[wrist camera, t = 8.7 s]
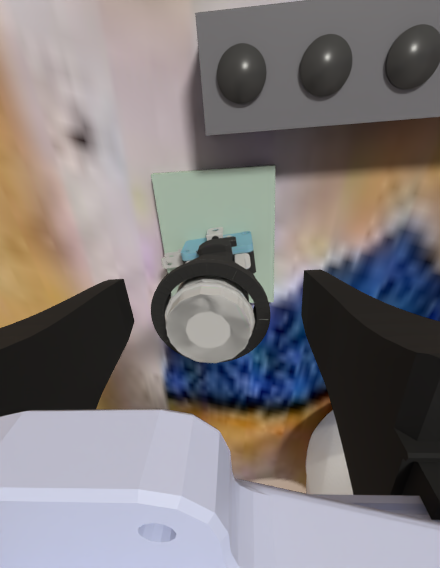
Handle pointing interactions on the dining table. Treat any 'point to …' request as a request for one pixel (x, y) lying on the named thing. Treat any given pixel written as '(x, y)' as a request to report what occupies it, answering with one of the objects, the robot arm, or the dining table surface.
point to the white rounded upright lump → (327, 461)
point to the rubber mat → (220, 211)
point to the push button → (211, 299)
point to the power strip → (319, 64)
